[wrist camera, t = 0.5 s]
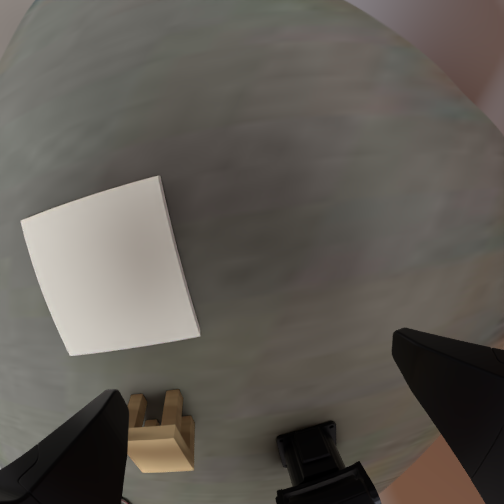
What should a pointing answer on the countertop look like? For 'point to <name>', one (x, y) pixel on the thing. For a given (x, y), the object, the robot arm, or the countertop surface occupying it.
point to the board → (112, 270)
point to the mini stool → (161, 436)
